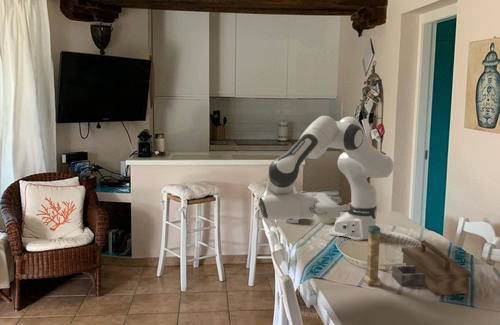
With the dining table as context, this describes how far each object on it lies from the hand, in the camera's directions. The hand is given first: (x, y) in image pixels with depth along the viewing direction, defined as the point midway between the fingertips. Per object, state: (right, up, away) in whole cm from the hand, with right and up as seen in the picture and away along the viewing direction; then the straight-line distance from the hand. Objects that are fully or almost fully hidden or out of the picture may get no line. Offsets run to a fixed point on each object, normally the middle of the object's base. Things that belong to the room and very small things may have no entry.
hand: (345, 203), depth 175 cm
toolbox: (+30, -29, +7) cm, 42 cm away
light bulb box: (-11, -16, +81) cm, 83 cm away
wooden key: (+11, -29, +4) cm, 31 cm away
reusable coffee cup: (+6, -16, +79) cm, 81 cm away
